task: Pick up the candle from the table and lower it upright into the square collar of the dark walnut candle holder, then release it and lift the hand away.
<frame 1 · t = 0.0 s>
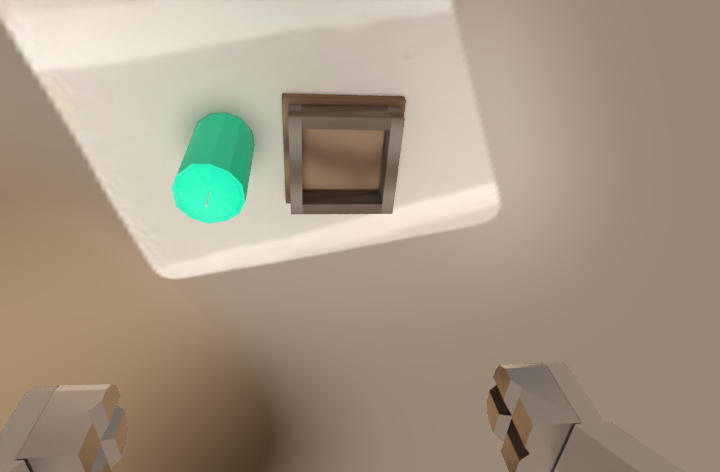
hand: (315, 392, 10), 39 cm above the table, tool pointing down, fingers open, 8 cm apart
holder: (341, 150, 50), on the table
candle: (224, 139, 48), on the table
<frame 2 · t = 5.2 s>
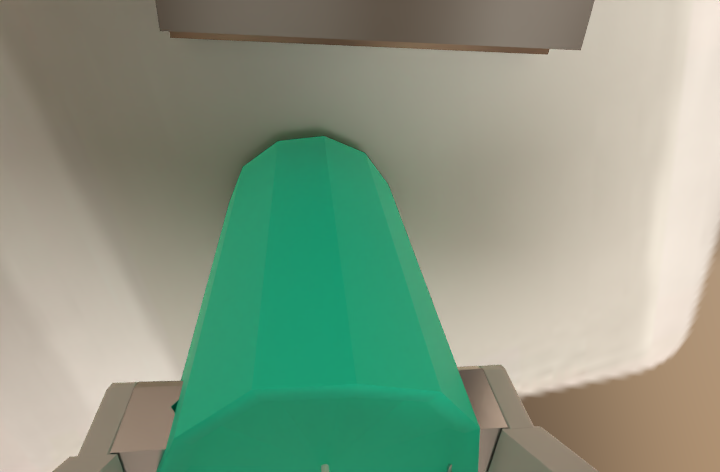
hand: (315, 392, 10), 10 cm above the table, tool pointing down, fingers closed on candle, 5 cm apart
candle: (312, 210, 18), point 1 cm above the table, touching gripper
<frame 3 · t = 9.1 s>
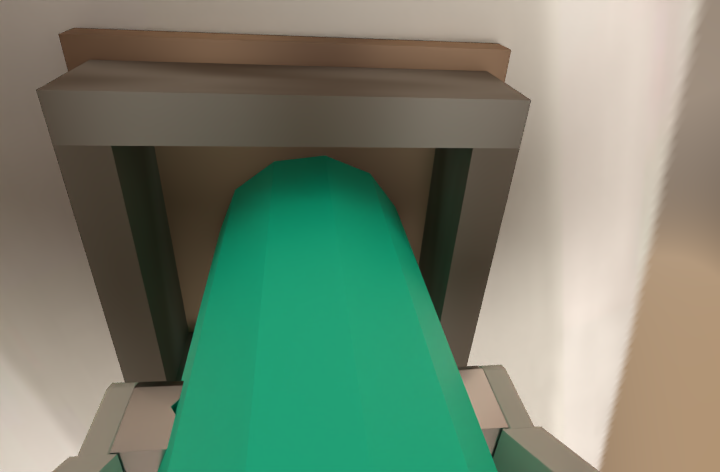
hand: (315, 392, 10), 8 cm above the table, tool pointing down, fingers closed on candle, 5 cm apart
holder: (301, 218, 17), on the table
candle: (311, 235, 16), point 1 cm above the table, touching gripper, holder
when the fingers open (7 cm above the table, at t = 10.0 s): candle stays where it is, resting on holder.
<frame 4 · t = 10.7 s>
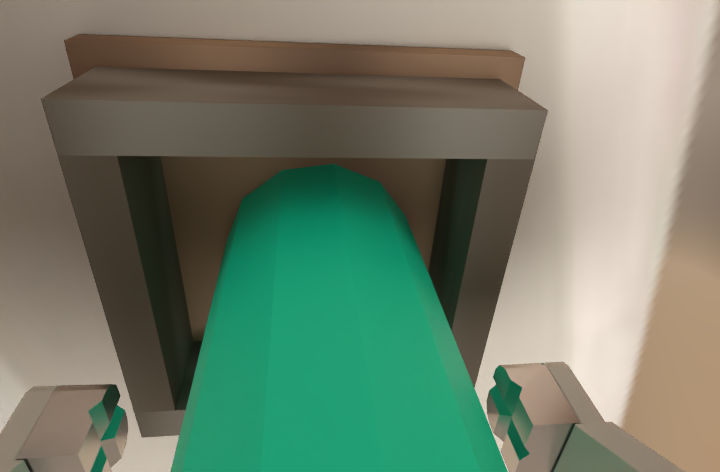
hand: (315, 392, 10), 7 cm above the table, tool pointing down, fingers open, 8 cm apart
holder: (308, 227, 16), on the table
candle: (320, 244, 16), point 1 cm above the table, touching holder
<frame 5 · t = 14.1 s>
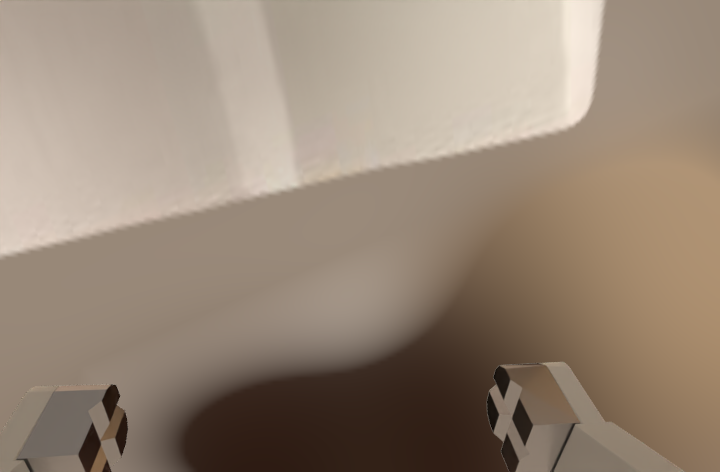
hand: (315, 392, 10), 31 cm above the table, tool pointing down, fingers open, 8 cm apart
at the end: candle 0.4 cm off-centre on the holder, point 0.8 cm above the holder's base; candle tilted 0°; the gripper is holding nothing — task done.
